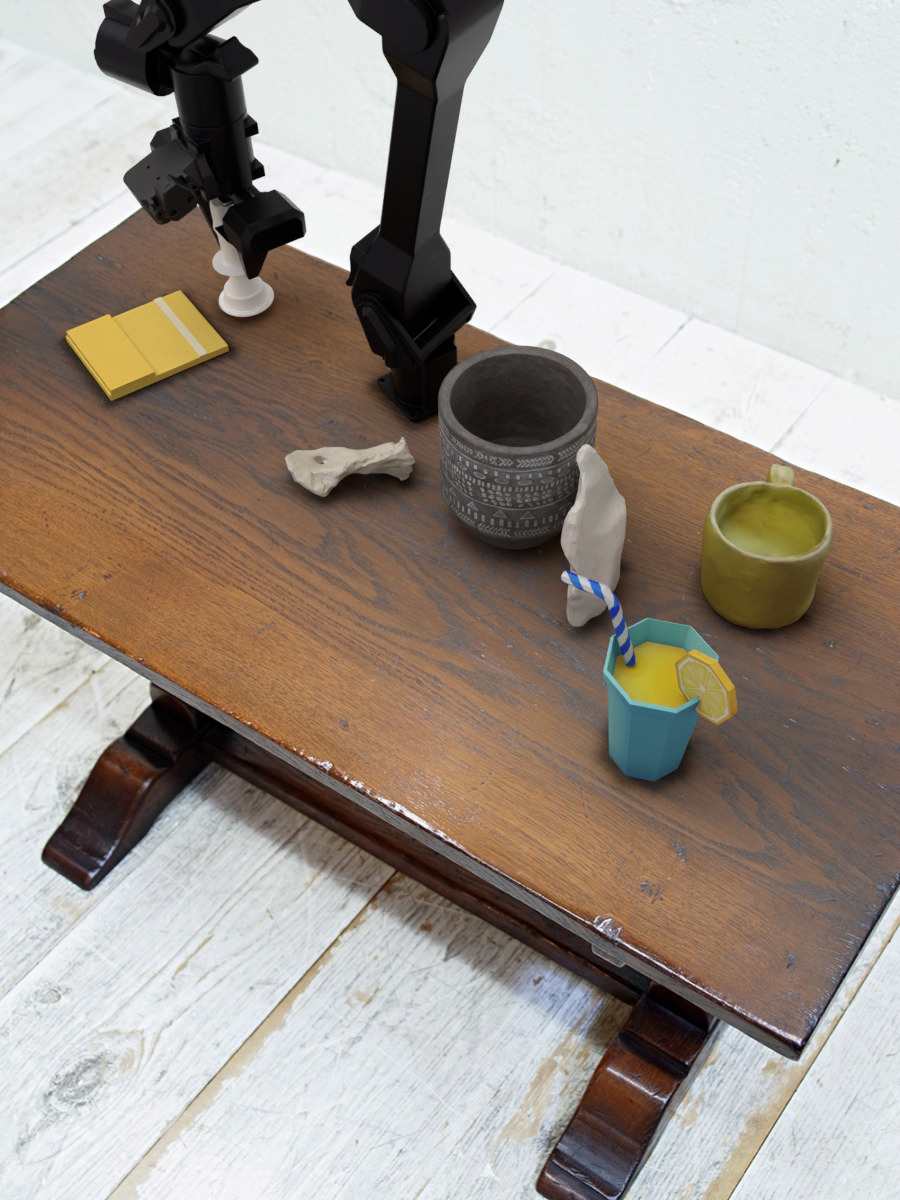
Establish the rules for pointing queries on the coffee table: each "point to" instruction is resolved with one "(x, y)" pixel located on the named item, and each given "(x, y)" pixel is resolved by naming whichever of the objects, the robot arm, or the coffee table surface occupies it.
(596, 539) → the stone
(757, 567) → the mug
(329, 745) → the coffee table surface
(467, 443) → the planter
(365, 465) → the off-white irregular piece
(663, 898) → the coffee table surface
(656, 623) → the cup
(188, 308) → the towel
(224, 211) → the candle
